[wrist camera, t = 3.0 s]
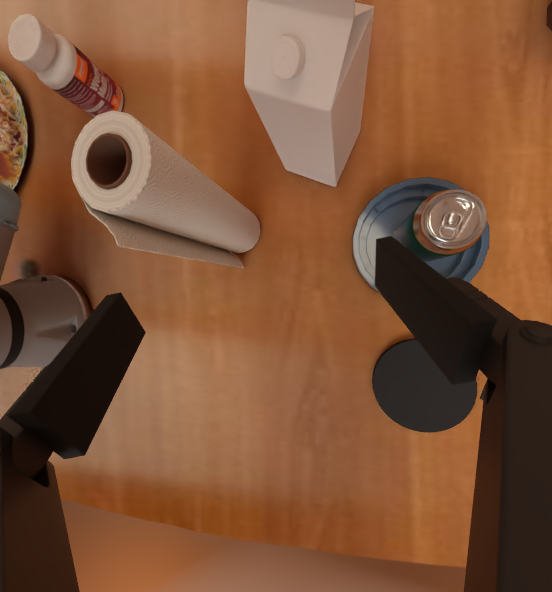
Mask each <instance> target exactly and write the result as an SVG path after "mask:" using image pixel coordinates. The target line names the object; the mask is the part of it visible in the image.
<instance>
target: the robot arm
mask: <svg viewBox="0 0 552 592" xmlns="http://www.w3.org/2000/svg"><path fill="white" fill-rule="evenodd" d="M20 210H21V200H20V198H19V196H18V195H17V194H16V192H15V191H13V190H12V189H11V188H9V187H8V186H6V185H4V184H2V183H0V280H1V276H2V273H3V270H4V266H5V263H6V260H7V256H8V253H9V250H10V246H11V243H12V240H13V237H14V233H15V231H18V226H17V223H18V218H19V214H20ZM23 279H24V278H23ZM19 280H20V281H19ZM19 280H16V281H13V282H11V283H8V284H4V285H1V286H0V369H2V368H6V367H45V368H44V369H42V371H41V372H40V373H39V374H38V375H37V377H36V378H35V379H34V382H32V383H31V384H30V385H29V386H28V387H27V389H26V391H24V392H23V393H22V394H21V396H20V397H19V398H18V399H17V400H16V402H15V403H14V404H13V405H12V406H11V408H10V409H9V410H8V411H7V412H6V414H5V415H4V416H3V417H2V418H1V419H0V592H79V587H78V582H77V577H76V572H75V568H74V563H73V558H72V553H71V549H70V544H69V539H68V533H67V528H66V523H65V519H64V514H63V509H62V504H61V499H60V494H59V489H58V484H57V479H56V474H55V470H54V466H53V465H52V463H51V462H49V461H48V459H49V457H50V456H51V454H52V452H53V451H54V452H55V453H57V454H58V455H59V456H61V457H62V458H63V459H68V458H73V457H78V456H84V455H85V454H86V452H87V450H88V448H89V446H90V444H91V442H92V440H93V438H94V436H95V434H96V432H97V430H98V428H99V426H100V424H101V422H102V419H103V417H104V415H105V413H106V411H107V409H108V407H109V405H110V403H111V401H112V399H113V397H114V395H115V393H116V391H117V389H118V387H119V385H120V383H121V381H122V379H123V377H124V375H125V373H126V371H127V369H128V367H129V365H130V363H131V361H132V359H133V357H134V355H135V353H136V351H137V349H138V347H139V345H140V343H141V341H142V339H143V337H144V335H145V333H146V332H145V331H144V329H143V327H142V326H141V324H140V323H139V321H138V319H137V318H136V316H135V315H134V313H133V311H132V310H131V308H130V307H129V305H128V303H127V302H126V300H125V298H124V297H123V295H122V294H121V293H116V294H111V295H107V296H106V297H105V298H104V299H103V300H102V301H101V303H100V304H99V305H98V306H97V307H96V309H95V310H94V311H93V312H92V309H91V305H90V303H89V300H88V298H87V296H86V294H85V293H84V291H83V290H82V288H81V287H80V286H79V285H78V284H77V283H76V282H74V281H73V280H71V279H69V278H67V277H65V276H61V275H41V276H35V277H32V278H28V279H24V280H21V279H19ZM375 287H376V288H377V289H378V290H379V292H380V293H381V294H382V296H383V297H384V298H385V299H386V301H387V302H388V303H389V305H390V306H391V307H392V308H393V310H394V311H395V312H396V314H397V315H398V316H399V317H400V319H401V320H402V321H403V323H404V324H405V325H406V326H407V328H408V329H409V330H410V332H411V333H412V334H413V335H414V337H415V338H416V339H417V341H418V342H419V343H420V344H421V346H422V347H423V348H424V350H425V351H426V352H427V353H428V355H429V356H430V357H431V359H432V360H433V361H434V362H435V364H436V365H437V366H438V368H439V369H440V370H441V371H442V373H443V374H444V375H445V377H446V378H447V379H448V380H449V382H450V383H451V384H452V385H456V384H461V383H467V382H472V381H475V379H476V376H477V373H478V371H479V369H480V370H481V371H482V373H483V374H484V375H485V376H486V377H487V378H488V379H487V382H486V384H485V386H484V389H483V391H482V394H481V396H480V399H482V400H484V402H483V411H482V421H481V431H480V440H479V450H478V460H477V469H476V479H475V489H474V498H473V508H472V518H471V528H470V537H469V547H468V557H467V566H466V577H465V586H464V592H552V326H551V325H549V324H545V323H542V322H538V321H530V320H522V321H521V320H520V319H518V318H517V317H516V316H514V315H513V314H512V313H510V312H509V311H507V310H506V309H505V308H503V307H502V306H500V305H499V304H498V303H496V302H495V301H494V300H492V299H491V298H488V297H487V295H485V294H484V293H482V292H481V291H480V292H479V290H478V289H477V288H476V287H474V286H473V285H471V284H470V283H469V282H466V281H464V280H461V279H459V278H456V277H451V278H444V277H443V276H442V275H441V274H439V273H438V272H437V271H436V270H434V269H433V268H432V267H430V266H429V265H428V264H427V263H425V262H424V261H423V260H422V259H420V258H419V257H418V256H416V255H415V254H414V253H413V252H411V251H410V250H409V249H408V248H406V247H405V246H404V245H402V244H401V243H400V242H399V241H397V240H396V239H395V238H394V237H392V236H388V237H384V238H379V239H376V261H375Z"/></svg>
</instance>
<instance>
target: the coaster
mask: <svg viewBox="0 0 552 592" xmlns="http://www.w3.org/2000/svg"><path fill="white" fill-rule="evenodd" d="M372 381H373V389H374V393H375V396H376V399H377V401H378V403H379V405H380V407H381V408H382V410H383V411H384V412H385V413H386V414H387V415H388V416H389V417H390V418H391V419H392V420H394V421H395V422H396V423H398V424H400V425H401V426H403V427H406V428H408V429H411V430H415V431H420V432H438V431H443V430H447V429H449V428H452V427H454V426H455V425H457V424H459V423H460V422H461V421H463V420H464V419H465V418H466V417H467V415H468V414H469V413H470V411H471V410H472V408H473V406H474V404H475V400H476V397H477V382H476V379H475V381H472V382H467V383H461V384H456V385H452V384H451V383H450V382H449V380H448V379H447V378H446V377H445V375H444V374H443V373H442V371H441V370H440V369H439V368H438V366H437V365H436V364H435V362H434V361H433V360H432V359H431V357H430V356H429V355H428V353H427V352H426V351H425V350H424V348H423V347H422V346H421V344H420V343H419V342H418V341H417V339H416V338H414V339H408V340H404V341H401V342H399V343H396V344H394V345H393V346H391V347H390V348H388V349H387V350H386V351H385V352H384V353H383V354H382V355H381V357H380V358H379V359H378V361H377V363H376V365H375V368H374V372H373V379H372Z"/></svg>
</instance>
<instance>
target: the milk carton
mask: <svg viewBox="0 0 552 592" xmlns="http://www.w3.org/2000/svg"><path fill="white" fill-rule="evenodd" d="M374 8H375V6H371V5H366V4H361V3H356V2H355V0H248V1H247V26H246V51H245V75H244V85H245V87H246V90H247V92H248V94H249V96H250V98H251V100H252V102H253V104H254V106H255V108H256V110H257V112H258V114H259V116H260V118H261V120H262V123H263V125H264V127H265V129H266V131H267V133H268V135H269V137H270V139H271V141H272V143H273V145H274V147H275V149H276V151H277V153H278V155H279V157H280V159H281V161H282V163H283V165H284V167H285V169H286V170H287V171H290V172H293V173H296V174H299V175H301V176H304V177H307V178H310V179H313V180H315V181H318V182H321V183H324V184H327V185H330V186H333V187H336V185H337V183H338V181H339V179H340V176H341V174H342V172H343V170H344V167H345V165H346V163H347V160H348V158H349V156H350V154H351V151H352V149H353V147H354V145H355V142H356V140H357V138H358V136H359V133H360V130H361V121H362V112H363V103H364V94H365V86H366V77H367V68H368V59H369V50H370V42H371V33H372V24H373V15H374Z"/></svg>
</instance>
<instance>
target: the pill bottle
mask: <svg viewBox="0 0 552 592" xmlns="http://www.w3.org/2000/svg"><path fill="white" fill-rule="evenodd" d="M8 47H9V50H10V53H11V55H12V56H13V57H14V58H15V59H16V60H17V61H19V62H20V63H22V64H23V65H25V66H26V67H27V68H29V69H30V70H32V71H34V72H35V73H36V74H37V76H38V78H39V79H40V80H41V81H42V82H43V83H44V84H45V85H47V86H48V87H49V88H51V89H52V90H54V91H55V92H57V93H58V94H60V95H61V96H63V97H64V98H66V99H67V100H69V101H70V102H72V103H73V104H75V105H76V106H78V107H79V108H81V109H82V110H84V111H85V112H87V113H88V114H90V115H91V116H92V117H94V118H95V117H96V116H97V115H99V114H102V113H106V112H109V111H113V110H114V111H118V112H121V110H122V107H123V93H122V90H121V88H120V87H119V86H118V84H117V83H115V82H114V81H113V80H112V79H111V78H110V77H109V76H108V75H107V74H105V73H104V72H103V71H102V70H101V69H100V68H99V67H98V66H96V65H95V64H94V63H93V62H92V61H91V60H90V59H89V58H87V57H86V56H85V55H84V54H83V53H82V52H81V51H80V50H79V49H78V48H76V47H75V46H74V45H73V44H72V43H71V42H70V41H68V40H67V39H66V38H65V37H63V36H61V35H58V34H53V33H52V31H51V30H50V29H49V28H48V27H46V26H45V25H44V24H43V23H42V22H40V21H39V20H38V19H37V18H36V17H34V16H33V15H31V14H22V15H20V16H19V17H18V18H16V19H15V21H14V22H13V23H12V25H11V27H10V30H9V34H8Z"/></svg>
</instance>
